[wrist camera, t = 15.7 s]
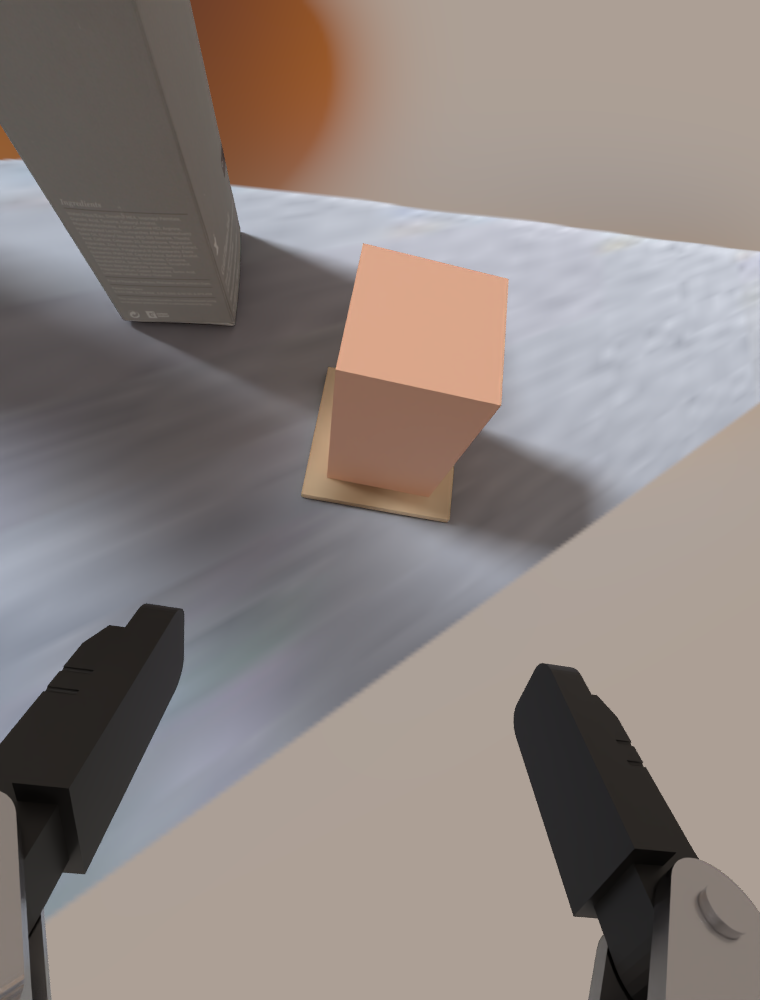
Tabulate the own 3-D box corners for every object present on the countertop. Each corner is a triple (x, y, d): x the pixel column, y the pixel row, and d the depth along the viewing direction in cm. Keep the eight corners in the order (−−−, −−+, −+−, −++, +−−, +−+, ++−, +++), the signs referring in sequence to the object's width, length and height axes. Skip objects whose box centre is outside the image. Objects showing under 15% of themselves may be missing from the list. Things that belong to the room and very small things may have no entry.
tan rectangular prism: (326, 477, 23) (335, 369, 14) (345, 388, 24) (363, 243, 16) (428, 497, 23) (501, 405, 14) (438, 409, 25) (508, 279, 16)
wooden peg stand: (301, 496, 23) (296, 430, 16) (327, 371, 25) (333, 267, 18) (446, 522, 23) (504, 470, 16) (457, 398, 26) (510, 307, 19)
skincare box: (237, 331, 25) (130, -114, 10) (107, 324, 24) (-223, -187, 9) (244, 225, 28) (165, -251, 13) (126, 214, 27) (-106, -320, 12)
